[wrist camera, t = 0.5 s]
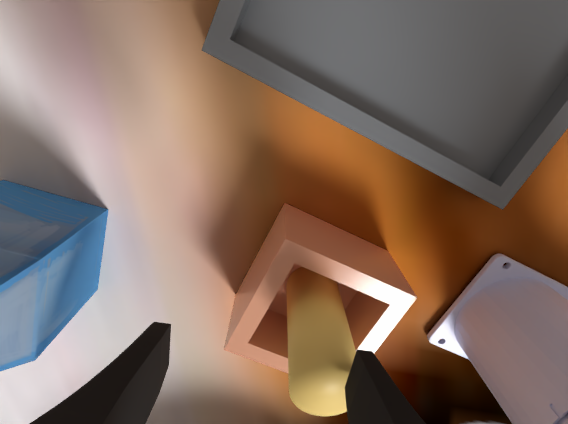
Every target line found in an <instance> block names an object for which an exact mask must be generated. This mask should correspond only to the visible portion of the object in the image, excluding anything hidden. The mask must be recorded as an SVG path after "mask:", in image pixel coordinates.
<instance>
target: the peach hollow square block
mask: <svg viewBox="0 0 568 424" xmlns="http://www.w3.org/2000/svg"><path fill="white" fill-rule="evenodd" d="M300 267H304V268H307V269H309V270H311V271H314V272H316V273H318V274H321V275H323V276H325V277H327V278H330V279H332V280H334V281H337V285H338V288H339V292H340V296H341V299H342V303H343V306H344V310H345V314H346V317H347V321H348V325H349V328H350V332H351V335H352V339H353V343H354V346H355V350H356V351H357V349H358V350H365V351H372V352H373V353H375V351H376V350H377V349H378V347H379V346H380V345H381V344H382V342H383V341H384V340H385V338H386V337H387V336H388V335H389V333H390V332H391V331H392V329H393V328H394V327H395V326H396V324H397V323H398V322H399V320H400V319H401V318H402V316H403V315H404V314H405V313H406V311H407V310H408V309H409V307H410V306H411V305H412V304H413V302H414V301H415V300H416V298H417V296H416V295H415V293H414V291H413V290H412V288H411V287H410V285H409V284H408V282H407V280H406V279H405V277H404V276H403V274H402V272H401V271H400V269H399V268H398V266H397V264H396V263H395V261H394V260H393V258H392V256H391V255H390V253H389V252H388V251H387V250H385V249H383V248H381V247H378V246H376V245H374V244H372V243H370V242H368V241H366V240H363V239H361V238H359V237H357V236H355V235H353V234H351V233H348V232H346V231H344V230H342V229H340V228H338V227H336V226H333V225H331V224H329V223H327V222H325V221H323V220H321V219H318V218H316V217H314V216H312V215H310V214H308V213H306V212H303V211H301V210H299V209H297V208H295V207H293V206H291V205H288V204H286V203H284V205H283V207H282V208H281V210H280V212H279V214H278V216H277V218H276V220H275V222H274V224H273V225H272V227H271V229H270V231H269V233H268V235H267V237H266V239H265V240H264V242H263V244H262V246H261V248H260V250H259V252H258V254H257V256H256V257H255V259H254V261H253V263H252V265H251V267H250V269H249V271H248V272H247V274H246V276H245V278H244V280H243V282H242V284H241V286H240V288H239V289H238V291H237V293H236V295H235V300H234V305H233V309H232V314H231V319H230V323H229V328H228V333H227V337H226V342H225V347H224V350H226V351H229V352H231V353H234V354H237V355H240V356H242V357H245V358H248V359H250V360H253V361H256V362H259V363H261V364H264V365H267V366H269V367H272V368H275V369H278V370H280V371H283V372H286V373H288V333H287V292H286V285H287V280H288V278H289V276H290V275H291V274H292V273H293V272H294V271H295V270H296V269H298V268H300Z"/></svg>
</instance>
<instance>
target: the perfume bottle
mask: <svg viewBox="0 0 568 424" xmlns="http://www.w3.org/2000/svg"><path fill="white" fill-rule="evenodd" d="M107 216H108V209H105V208H102V207H98V206H95V205H91V204H87V203H84V202H80V201H77V200H73V199H70V198H66V197H62V196H59V195H55V194H52V193H48V192H44V191H41V190H37V189H34V188H30V187H27V186H23V185H19V184H16V183H12V182H9V181H5V180H2V181H0V371H3V370H6V369H9V368H12V367H15V366H18V365H22V364H25V363H28V362H31V361H34V360H36V359H37V357H38V356H39V355H40V354H41V353H42V352H43V351H44V350H45V348H46V347H47V346H48V345H49V344H50V343H51V342H52V340H53V339H54V338H55V337H56V336H57V335H58V334H59V333H60V331H61V330H62V329H63V328H64V327H65V326H66V325H67V323H68V322H69V321H70V320H71V319H72V318H73V317H74V316H75V314H76V313H77V312H78V311H79V310H80V309H81V308H82V306H83V305H84V304H85V303H86V302H87V301H88V300H89V298H90V297H91V296H92V295H93V294H94V293H95V292H96V291H97V289H98V282H99V275H100V267H101V260H102V253H103V245H104V238H105V230H106V223H107Z"/></svg>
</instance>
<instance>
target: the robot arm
mask: <svg viewBox="0 0 568 424" xmlns="http://www.w3.org/2000/svg"><path fill="white" fill-rule="evenodd" d="M505 263H507V264H506V265H505V266H503V264H505ZM170 332H171V324H166V323H159V322H154V323H152V324H151V325H150V326H149V327H148V328H147V329H146V330H145V331H144V332H143V333H142V334H141V335H140V336H139V337H138V338H137V339H136V340H135V341H134V342H133V343H132V344H131V345H130V346H129V347H128V348H127V349H126V350H125V351H124V352H122V353H121V354H120V355H119V356H118V357H117V358H116V359H115V360H114V361H113V362H111V363H110V364H109V365H108V366H107V367H106V368H104V369H103V370H102V371H101V372H100V373H98V374H97V375H96V376H95V377H94V378H92V379H91V380H90V381H89V382H88V383H86V384H85V385H84V386H82V387H81V388H80V389H79V390H77V391H76V392H75V393H73V394H72V395H71V396H69V397H68V398H67V399H65V400H64V401H62V402H61V403H60V404H58V405H57V406H55V407H54V408H52V409H51V410H49V411H48V412H46V413H45V414H43V415H42V416H40V417H39V418H37V419H36V420H34V421H33V422H31V423H30V424H145V423H146V421H147V419H148V417H149V414H150V412H151V410H152V408H153V406H154V403H155V401H156V399H157V397H158V395H159V392H160V389H161V387H162V384H163V381H164V378H165V375H166V372H167V369H168V366H169V350H170ZM427 338H428V340H429V342H430V343H432V344H434V345H436V346H439V347H441V348H443V349H446V350H448V351H451V352H453V353H455V354H458V355H460V356H462V357H465V358H467V359H469V360H470V361H471V363H472V364H473V366H474V367H475V369H476V370H477V372H478V373H479V375H480V376H481V378H482V379H483V381H484V382H485V383H486V385H487V386H488V388H489V389H490V391H491V392H492V394H493V395H494V397H495V398H496V400H497V401H498V403H499V404H500V406H501V407H502V409H503V410H504V412H505V413H506V415H507V416H508V418H509V419H510V421H511V422H512V423H513V424H568V287H567V286H565V285H563V284H561V283H559V282H557V281H555V280H553V279H551V278H549V277H547V276H545V275H543V274H541V273H539V272H537V271H535V270H533V269H531V268H529V267H527V266H525V265H523V264H521V263H519V262H517V261H515V260H513V259H511V258H509V257H507V256H505V255H503V254H495V255H493V256H492V257H491V258H490V260H489V261H488V262H487V263H486V264H485V266H484V267H483V268H482V269H481V270H480V272H479V273H478V274H477V275H476V276H475V278H474V279H473V280H472V281H471V283H470V284H469V285H468V286H467V287H466V289H465V290H464V291H463V292H462V293H461V295H460V296H459V297H458V298H457V299H456V301H455V302H454V303H453V304H452V305H451V307H450V308H449V309H448V310H447V311H446V313H445V314H444V315H443V316H442V318H441V319H440V320H439V321H438V322H437V324H436V325H435V326H434V327H433V328H432V330H431V331H430V332H429V333H428V335H427ZM440 339H441V340H440ZM345 397H346V408H347V416H348V421H349V424H425V422H424V421H423V420H422V419H421V417H420V416H419V415H418V414H417V413H416V411H415V410H414V409H413V407H412V406H411V405H410V404H409V402H408V401H407V400H406V398H405V397H404V396H403V394H402V393H401V392H400V390H399V389H398V387H397V386H396V385H395V383H394V382H393V380H392V379H391V378H390V376H389V375H388V373H387V372H386V370H385V369H384V368H383V366H382V365H381V363H380V362H379V360H378V359H377V358H376V356H375V355H374V353H373V352H372V351H365V350H358V349H357V351H356V354H355V357H354V360H353V363H352V366H351V369H350V372H349V376H348V379H347V382H346V385H345Z"/></svg>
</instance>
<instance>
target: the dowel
mask: <svg viewBox="0 0 568 424" xmlns="http://www.w3.org/2000/svg"><path fill="white" fill-rule="evenodd" d="M286 292H287V333H288V374H289V395H290V398H291V400H292V402H293V403H294V404H295V405H296V406H297V407H298V408H299V409H300V410H302V411H304V412H306V413H308V414H312V415H316V416H334V415H338V414H342V413H344V412H346V411H347V408H346V397H345V385H346V382H347V379H348V376H349V372H350V369H351V366H352V363H353V360H354V357H355V354H356V350H355V346H354V343H353V339H352V335H351V332H350V328H349V325H348V321H347V317H346V314H345V310H344V306H343V303H342V299H341V296H340V292H339V288H338V285H337V281H334V280H332V279H330V278H327V277H325V276H323V275H321V274H318V273H316V272H314V271H311V270H309V269H307V268H304V267H300V268H298V269H296V270H295V271H294V272H293V273H292V274H291V275H290V276H289V278H288V280H287V285H286Z"/></svg>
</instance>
